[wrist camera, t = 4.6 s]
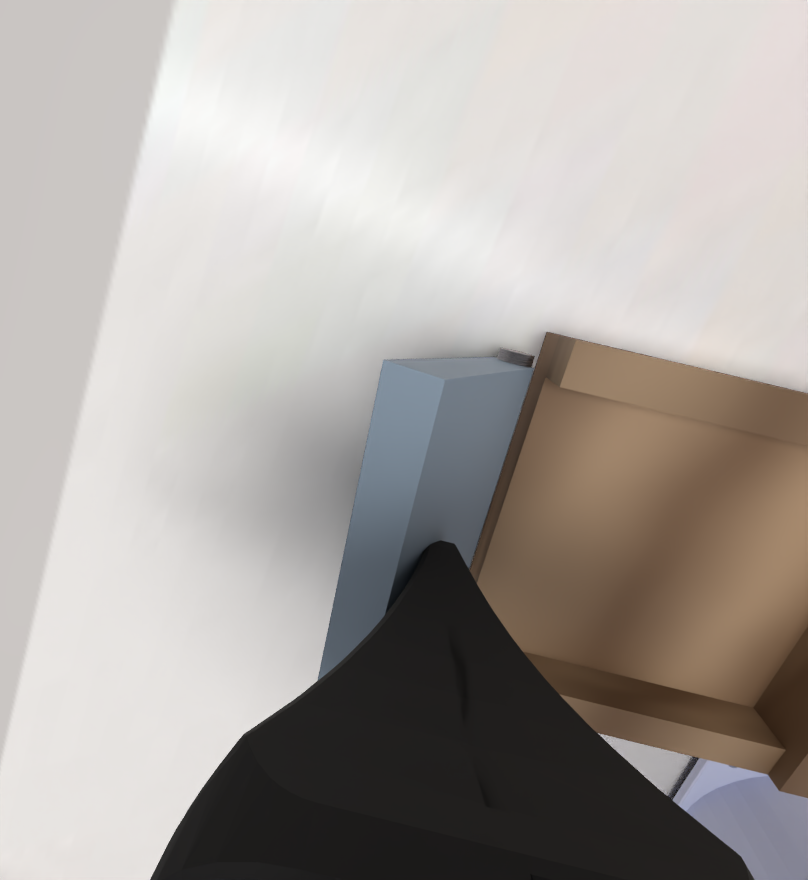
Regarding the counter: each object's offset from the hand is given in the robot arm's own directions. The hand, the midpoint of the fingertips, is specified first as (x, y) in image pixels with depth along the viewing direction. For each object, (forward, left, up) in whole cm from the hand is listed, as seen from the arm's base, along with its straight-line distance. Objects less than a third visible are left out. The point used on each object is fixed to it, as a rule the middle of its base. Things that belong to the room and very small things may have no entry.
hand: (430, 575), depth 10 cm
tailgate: (-1, 0, -4) cm, 4 cm away
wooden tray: (-8, 0, -5) cm, 10 cm away
